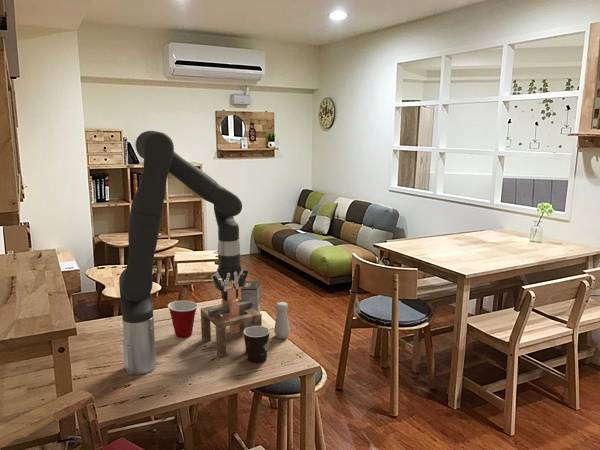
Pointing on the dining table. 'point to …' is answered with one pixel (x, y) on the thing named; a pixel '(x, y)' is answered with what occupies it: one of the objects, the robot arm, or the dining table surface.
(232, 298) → the stepped pink block
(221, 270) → the robot arm
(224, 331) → the square wooden frame
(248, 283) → the coffee box
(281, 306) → the salt shaker
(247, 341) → the coffee mug
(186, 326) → the plastic cup
